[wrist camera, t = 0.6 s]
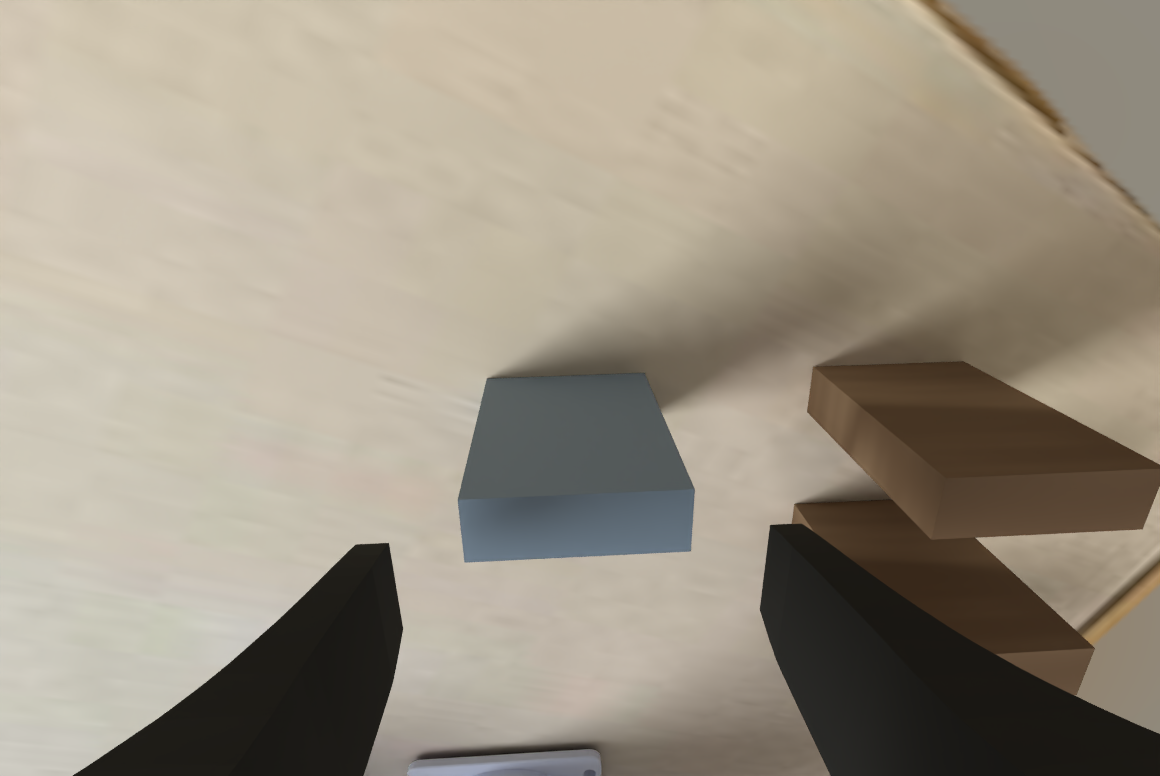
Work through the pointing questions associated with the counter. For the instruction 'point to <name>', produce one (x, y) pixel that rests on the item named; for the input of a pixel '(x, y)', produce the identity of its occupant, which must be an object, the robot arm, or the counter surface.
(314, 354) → the counter surface
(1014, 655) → the domino
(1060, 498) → the domino
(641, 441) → the end domino
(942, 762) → the robot arm
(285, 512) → the counter surface
